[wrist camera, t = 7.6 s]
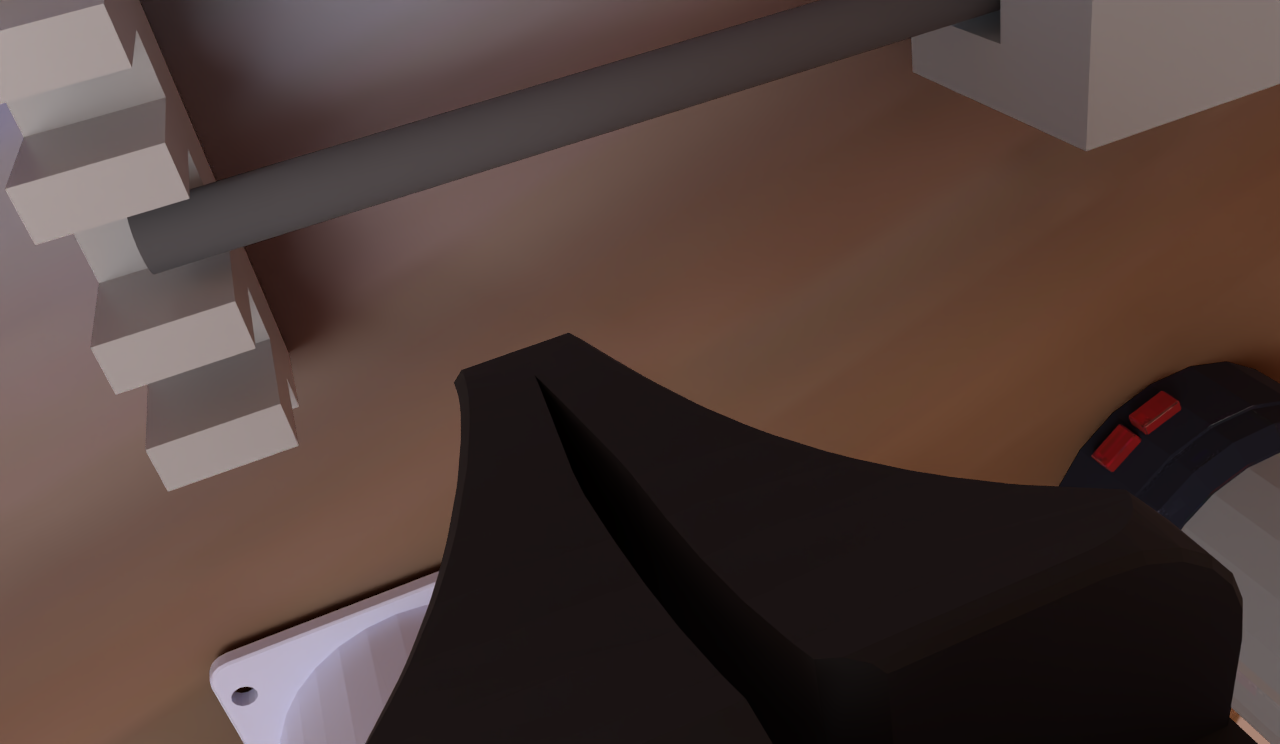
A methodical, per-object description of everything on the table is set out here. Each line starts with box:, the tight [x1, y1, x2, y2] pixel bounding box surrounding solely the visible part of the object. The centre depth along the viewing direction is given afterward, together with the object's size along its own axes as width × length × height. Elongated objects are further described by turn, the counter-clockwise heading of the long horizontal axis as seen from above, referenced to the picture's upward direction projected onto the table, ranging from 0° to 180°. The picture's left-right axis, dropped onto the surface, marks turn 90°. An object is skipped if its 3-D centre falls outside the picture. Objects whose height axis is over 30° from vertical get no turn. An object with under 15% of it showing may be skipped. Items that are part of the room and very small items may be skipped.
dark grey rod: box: [127, 0, 1000, 274], centre depth 18 cm, size 21×4×4 cm, turn 100°
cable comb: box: [0, 0, 299, 491], centre depth 17 cm, size 2×8×4 cm, turn 11°
